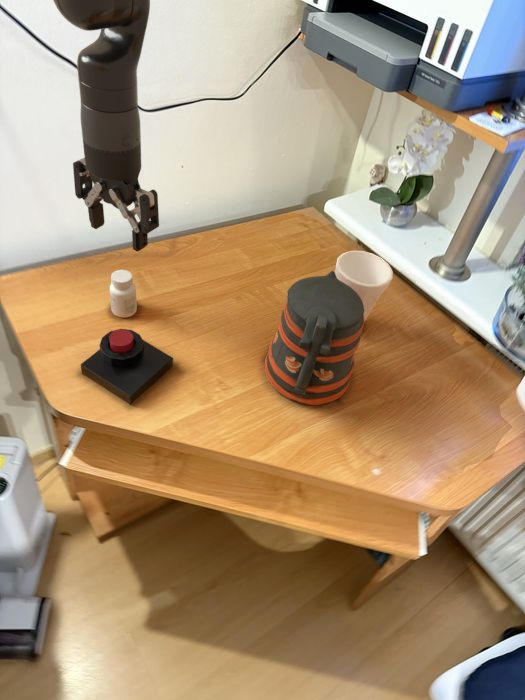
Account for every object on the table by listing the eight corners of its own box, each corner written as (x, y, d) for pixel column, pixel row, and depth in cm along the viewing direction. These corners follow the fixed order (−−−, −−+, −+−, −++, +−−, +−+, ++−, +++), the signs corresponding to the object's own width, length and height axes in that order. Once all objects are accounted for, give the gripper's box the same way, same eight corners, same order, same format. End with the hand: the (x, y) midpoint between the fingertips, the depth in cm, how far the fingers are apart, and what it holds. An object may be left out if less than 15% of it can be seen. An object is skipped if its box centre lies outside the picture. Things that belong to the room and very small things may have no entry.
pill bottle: (139, 303, 93) (138, 269, 88) (133, 320, 90) (131, 286, 85) (115, 299, 93) (112, 265, 88) (108, 316, 90) (104, 281, 85)
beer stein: (344, 438, 79) (384, 350, 65) (251, 417, 80) (270, 324, 65) (351, 352, 92) (386, 262, 78) (271, 334, 93) (291, 241, 78)
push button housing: (80, 372, 81) (77, 355, 78) (125, 337, 87) (123, 320, 84) (130, 405, 78) (129, 388, 75) (173, 366, 84) (173, 350, 81)
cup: (368, 308, 102) (389, 253, 92) (374, 344, 95) (397, 289, 85) (318, 301, 101) (334, 246, 91) (321, 338, 94) (338, 282, 84)
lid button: (105, 346, 80) (104, 338, 79) (121, 333, 83) (120, 326, 82) (122, 357, 79) (122, 349, 78) (138, 344, 82) (138, 336, 81)
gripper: (171, 146, 69) (169, 246, 81) (92, 110, 73) (101, 210, 85) (133, 165, 64) (137, 268, 76) (51, 124, 68) (66, 228, 80)
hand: (118, 237), depth 81 cm, fingers open, 8 cm apart
